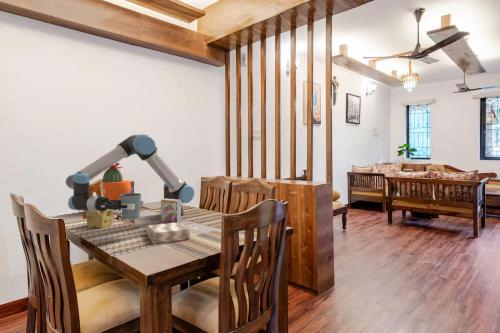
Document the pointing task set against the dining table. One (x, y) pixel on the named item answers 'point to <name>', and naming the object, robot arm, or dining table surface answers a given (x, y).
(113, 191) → the potted cactus
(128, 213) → the grey green cup
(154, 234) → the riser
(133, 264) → the dining table surface
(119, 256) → the dining table surface
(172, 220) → the candy bar box
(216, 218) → the dining table surface
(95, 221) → the cheese
